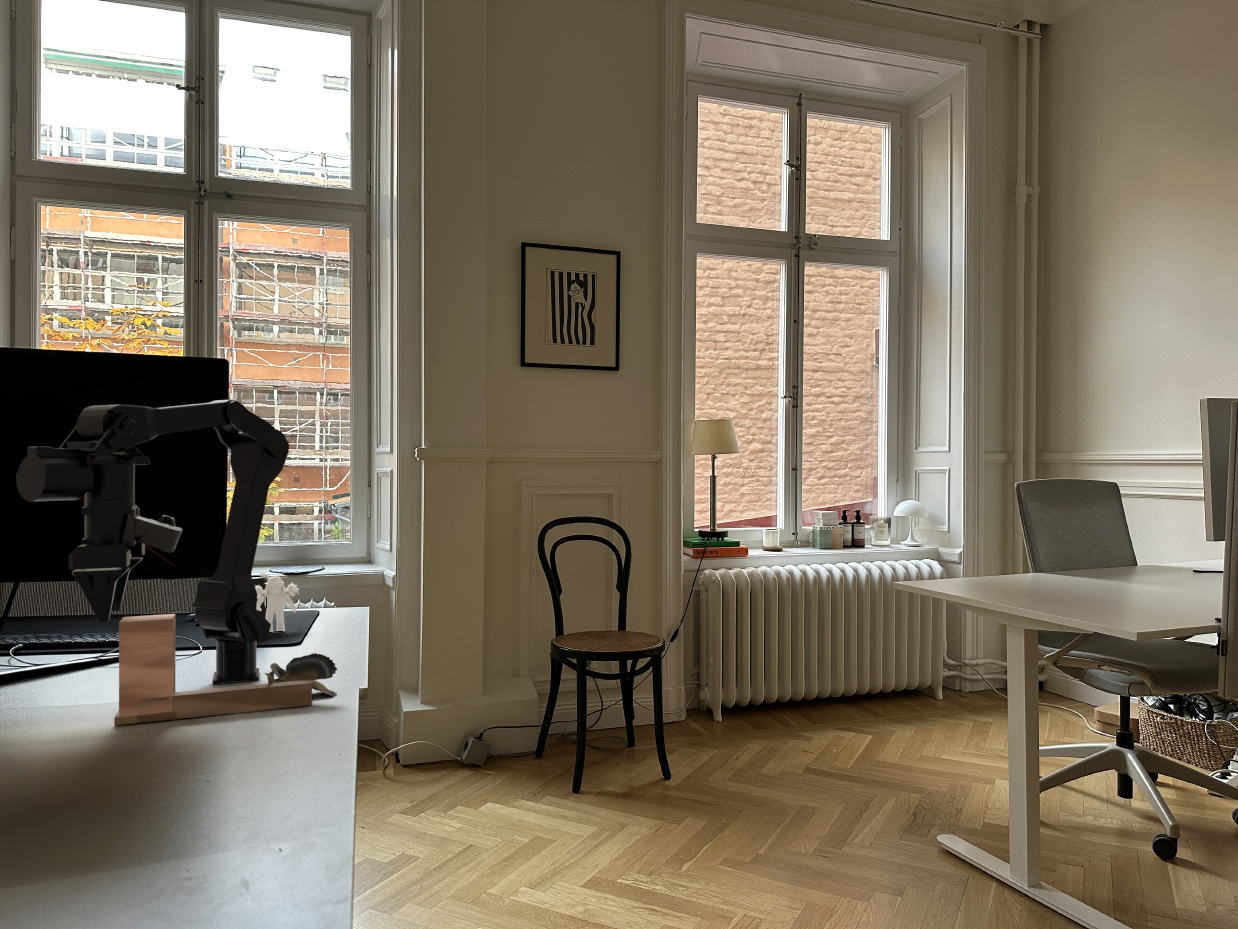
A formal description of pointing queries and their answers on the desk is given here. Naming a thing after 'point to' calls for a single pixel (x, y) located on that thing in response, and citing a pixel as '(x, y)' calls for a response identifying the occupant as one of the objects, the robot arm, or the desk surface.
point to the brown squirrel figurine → (305, 671)
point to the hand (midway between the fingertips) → (109, 616)
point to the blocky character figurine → (276, 599)
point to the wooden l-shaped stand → (153, 680)
